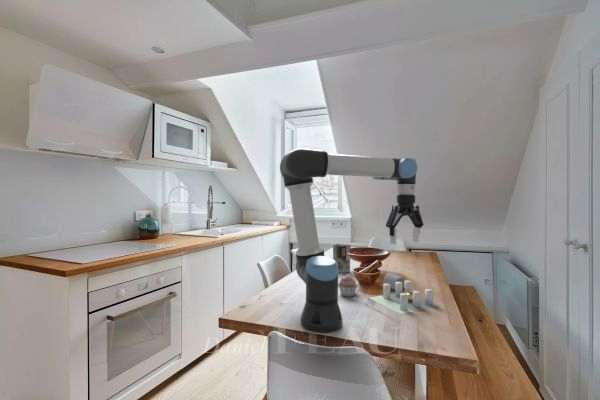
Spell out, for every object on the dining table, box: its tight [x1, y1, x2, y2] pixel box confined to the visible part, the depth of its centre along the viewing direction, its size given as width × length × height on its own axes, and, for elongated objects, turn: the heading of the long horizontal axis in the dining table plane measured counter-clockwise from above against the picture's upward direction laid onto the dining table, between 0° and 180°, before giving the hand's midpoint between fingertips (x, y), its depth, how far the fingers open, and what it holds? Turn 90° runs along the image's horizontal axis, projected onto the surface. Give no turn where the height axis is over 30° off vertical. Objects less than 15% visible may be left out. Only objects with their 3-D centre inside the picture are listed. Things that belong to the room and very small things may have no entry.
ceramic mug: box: [382, 272, 406, 291], centre depth 149 cm, size 11×8×8 cm
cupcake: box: [338, 273, 359, 298], centre depth 140 cm, size 9×9×10 cm
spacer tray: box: [368, 280, 441, 315], centre depth 129 cm, size 22×20×7 cm
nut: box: [405, 291, 413, 302], centre depth 131 cm, size 5×5×3 cm
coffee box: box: [332, 243, 351, 274], centre depth 183 cm, size 9×6×16 cm
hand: (404, 242), depth 130 cm, fingers open, 13 cm apart
